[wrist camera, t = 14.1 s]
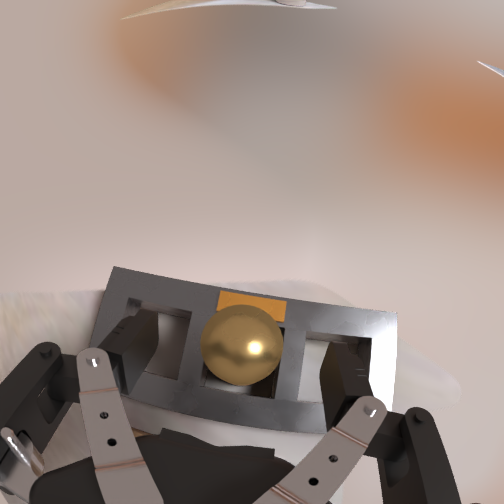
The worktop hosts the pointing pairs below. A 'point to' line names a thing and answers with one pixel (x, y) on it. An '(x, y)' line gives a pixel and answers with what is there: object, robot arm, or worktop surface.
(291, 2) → the toilet tissue
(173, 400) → the grey flat frame
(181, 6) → the worktop surface
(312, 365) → the worktop surface
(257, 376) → the gold domed cylinder
